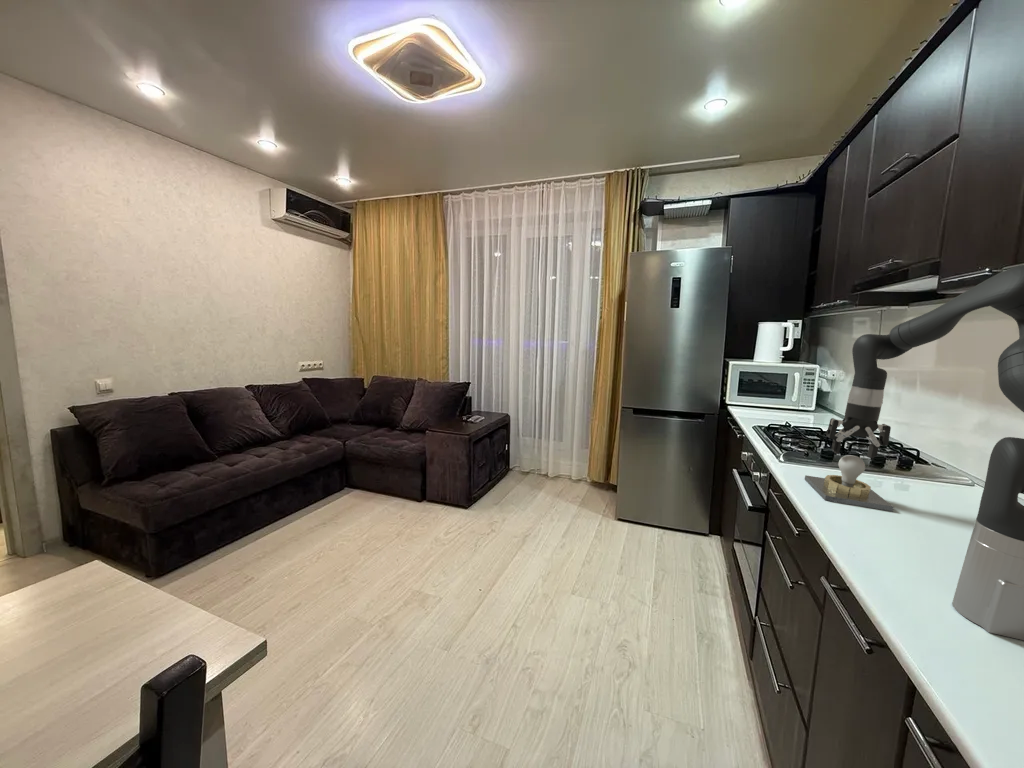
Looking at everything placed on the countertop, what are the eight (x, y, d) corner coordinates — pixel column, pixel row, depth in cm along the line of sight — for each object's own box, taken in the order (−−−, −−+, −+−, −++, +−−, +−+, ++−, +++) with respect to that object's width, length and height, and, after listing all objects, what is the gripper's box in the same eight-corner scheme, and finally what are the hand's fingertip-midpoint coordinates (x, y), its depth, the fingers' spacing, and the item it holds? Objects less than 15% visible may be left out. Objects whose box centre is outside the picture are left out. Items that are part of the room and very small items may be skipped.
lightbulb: (851, 486, 122) (858, 453, 120) (864, 495, 116) (872, 460, 114) (829, 484, 123) (836, 451, 121) (841, 492, 117) (848, 458, 115)
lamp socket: (892, 511, 110) (895, 498, 109) (824, 500, 115) (827, 487, 114) (863, 488, 125) (866, 476, 124) (804, 479, 130) (806, 468, 129)
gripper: (887, 403, 116) (875, 455, 119) (829, 397, 120) (819, 447, 123) (902, 408, 109) (889, 463, 112) (841, 402, 113) (829, 455, 116)
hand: (852, 455), depth 117 cm, fingers open, 8 cm apart
